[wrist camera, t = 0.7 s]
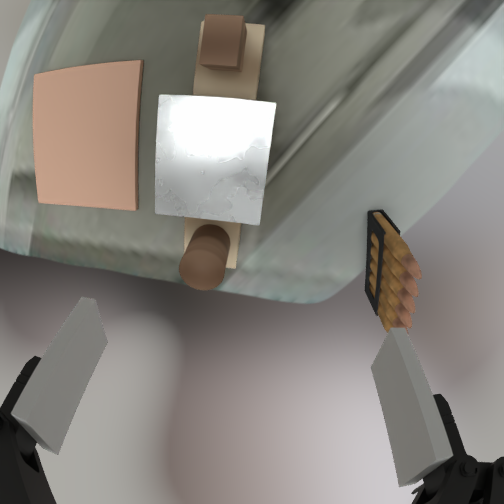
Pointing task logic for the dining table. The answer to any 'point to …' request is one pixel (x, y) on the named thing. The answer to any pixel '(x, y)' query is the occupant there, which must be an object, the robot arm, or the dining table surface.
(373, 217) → the ammunition clip
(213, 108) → the brushed metal block
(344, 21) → the dining table surface
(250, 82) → the wooden peg stand
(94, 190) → the mat
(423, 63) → the dining table surface
